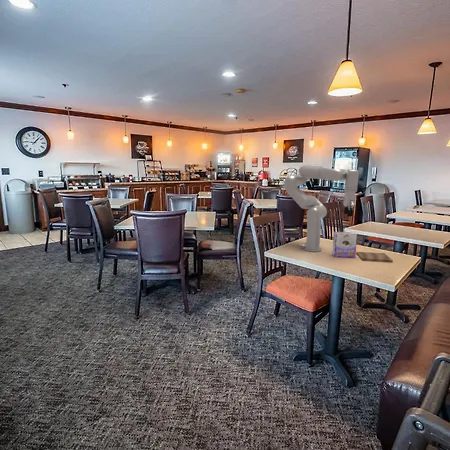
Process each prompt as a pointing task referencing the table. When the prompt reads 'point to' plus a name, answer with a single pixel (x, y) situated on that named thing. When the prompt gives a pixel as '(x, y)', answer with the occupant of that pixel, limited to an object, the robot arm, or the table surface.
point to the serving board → (374, 257)
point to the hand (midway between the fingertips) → (348, 215)
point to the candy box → (344, 244)
